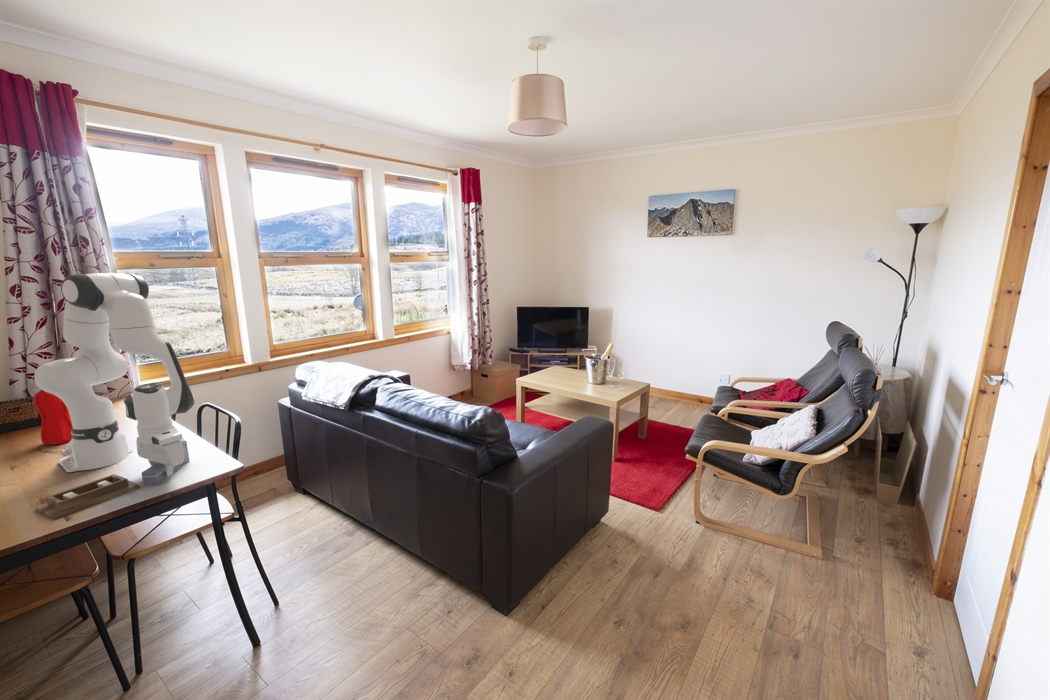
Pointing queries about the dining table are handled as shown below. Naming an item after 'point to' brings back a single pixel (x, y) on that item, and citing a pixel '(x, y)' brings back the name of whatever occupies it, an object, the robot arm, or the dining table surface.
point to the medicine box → (185, 451)
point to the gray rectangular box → (156, 474)
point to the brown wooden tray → (86, 496)
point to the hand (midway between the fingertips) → (163, 473)
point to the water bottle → (53, 418)
